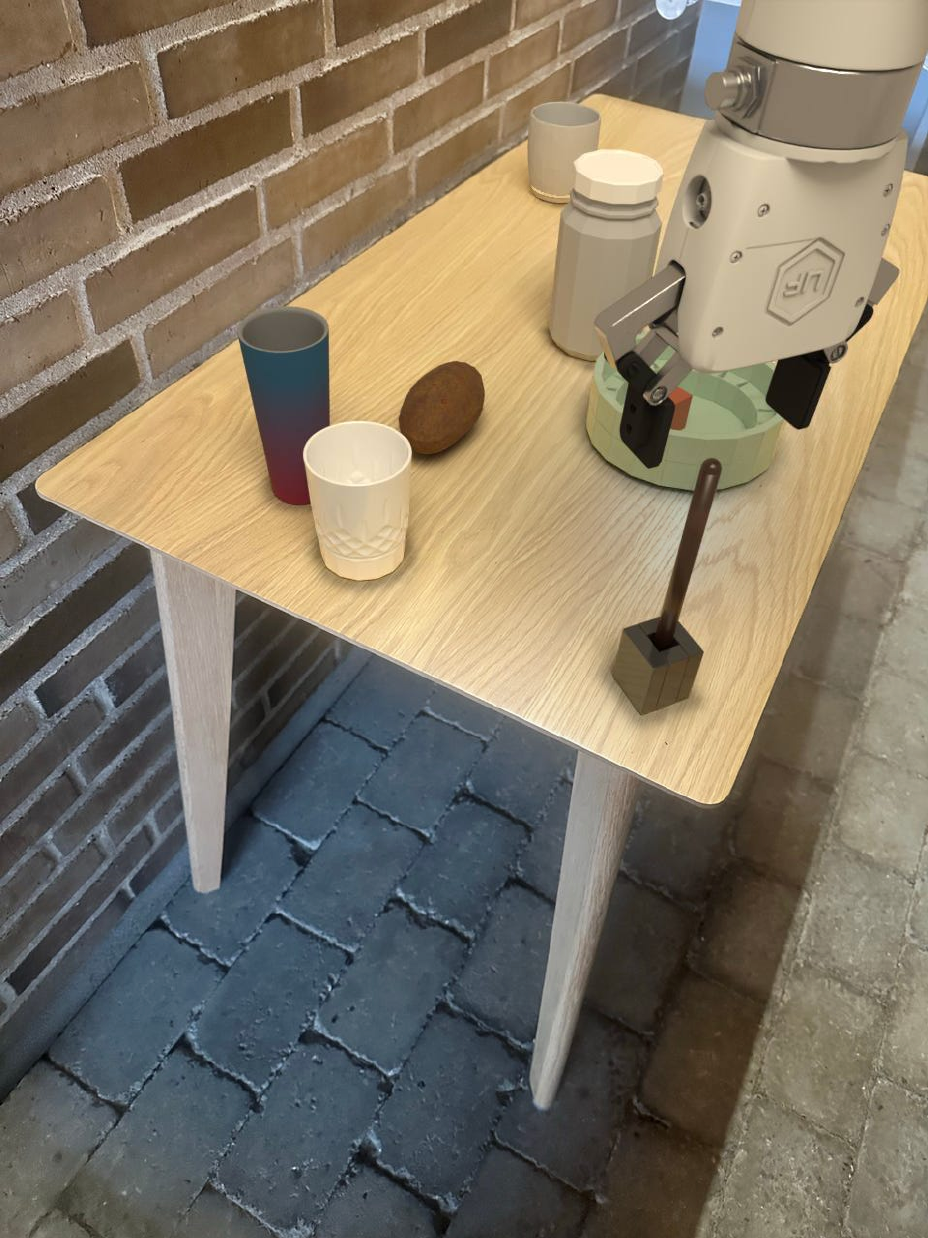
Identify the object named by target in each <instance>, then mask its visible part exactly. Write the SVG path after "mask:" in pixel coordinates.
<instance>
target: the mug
mask: <svg viewBox="0 0 928 1238" xmlns="http://www.w3.org/2000/svg"><path fill="white" fill-rule="evenodd" d="M528 120H529V121H528V129H527V145H526V146H527V148H526V149H527V171H528V173H527V174H528V179H529V184H530V183H531V185H532V186H533V187H534V188H536V189H537V190H540V191H541V192H544V193H548V194H551V195H556V196H566V195H570V191H571V190H572V189H573V188H574V186H573V183H572V172H573V163H574V161H576V160H577V159H578V158H579V157H580V156H581V155H582V154H584V153H588V152H593V151H597V150H599V143H600V142H599V141H600V132H601V124H602V115H601V113H600V112H599V111H598V110H597V109H594V108H593V107H590V106H589V105H585V104H581V103H576V102H572V101H571V102H570V101H551V102H545V103H541V104H539V105H536V106H535V107H534V106H533V108H532V109H531V111H530V112H529V119H528ZM531 191H532V193H533V194H534V196H535V197H536V198H538V199H540V200H542V201H544V202H547V203H553V204H568V203H569V202H570V201H571V197H570V198H554V197H549V196H545V195H542V194H539V193H537V192H536V191H534V190H533V189H532V188H531Z"/></svg>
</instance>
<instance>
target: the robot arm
mask: <svg viewBox="0 0 928 1238" xmlns="http://www.w3.org/2000/svg"><path fill="white" fill-rule="evenodd" d="M927 56H928V0H741V2H740V7H739V11H738V15H737V20H736V23H735V30H734V32H733V37H732V40H731V45H730V50H729V54H728V59H727V62H726V68H724V70H722V71H714V72H712V73H711V74H710V75H709V76H708V77H707V79H706V81H705V85H704V90H703V91H704V94H703V96H704V102H705V104H706V106H707V108H708V109H710V110H711V111H715V116H714V118H712V119H709V120H706V121H705V122H704V124H703V126H702V128H701V130H700V133H699V135H698V138H697V140H696V142H695V144H694V147H693V150H692V153H691V154H690V157H689V160H688V162H687V164H686V168H685V170H684V173H683V176H682V178H681V181H680V185H679V186H678V190H677V193H676V195H675V199H674V201H673V204H672V208H671V211H670V214H669V217H668V221H667V224H666V227H665V232H664V235H663V239H662V243H661V246H660V249H659V254H658V258H657V262H656V266H655V271H654V273H653V275H652V278H650V279H649V280H647V281H646V282H644V283H643V284H641V285H640V286H639V287H637V288H636V289H634V290H633V291H631V292H630V293H628V294H627V295H625V296H624V297H622V298H621V299H620V300H618V301H617V302H615V303H614V304H612V305H611V306H609V307H608V308H606V309H605V310H603V311H602V312H601V313H599V314H598V315H597V317H596V318H595V321H594V327H595V330H596V332H597V335H598V338H599V341H600V343H601V346H602V349H603V350H604V358H605V360H606V361H607V362H608V363H609V364H610V365H611V366H612V367H613V368H614V369H615V370H616V371H617V372H618V373H619V374H620V375H621V376H622V377H623V378H624V379H625V380H626V381H627V382H628V388H627V393H626V398H625V403H624V408H623V413H622V418H621V423H620V429H619V432H620V438H621V440H622V442H623V443H624V444H625V445H626V446H627V447H628V448H629V449H630V450H631V451H632V452H633V454H634V455H635V456H636V457H637V458H638V459H639V460H640V461H641V462H642V463H643V464H644V466H645V467H646V468H648V469H651V468H654V467H658V466H659V465H660V463H661V462H662V459H663V455H664V451H665V447H666V443H667V439H668V435H669V431H670V427H671V423H672V419H673V415H674V411H675V404H674V402H673V401H672V400H671V399H670V398H669V397H668V396H669V395H670V394H671V393H672V392H673V391H674V390H675V389H676V387H677V386H678V385H679V384H680V383H681V382H682V381H683V380H684V378H685V377H686V376H687V375H688V374H689V373H690V372H691V371H692V370H693V369H694V370H696V371H698V372H700V373H705V374H715V373H721V372H727V371H731V370H736V369H741V368H745V367H750V366H754V365H759V364H763V363H767V362H776V361H777V362H776V364H775V365H776V367H775V370H774V373H773V376H772V379H771V382H770V385H769V388H768V392H767V395H766V398H765V401H766V403H767V405H769V406H770V407H771V408H772V409H773V410H774V411H775V412H777V413H778V414H779V415H780V416H781V417H782V418H783V419H785V420H786V421H787V423H788V424H789V425H790V426H791V427H792V428H793V429H796V431H797V430H799V431H800V430H804V429H807V428H809V427H810V425H811V422H812V421H813V418H814V414H815V412H816V409H817V407H818V404H819V401H820V400H821V396H822V393H823V391H824V388H825V386H826V383H827V380H828V379H829V375H830V373H831V370H832V366H830V364H832V365H833V364H837V363H839V362H840V361H842V360H843V358H845V356H846V354H847V353H848V349H849V346H848V342H849V341H850V340H852V338H853V337H855V335H856V334H857V333H858V332H859V331H861V329H863V328H864V327H865V326H866V325H867V324H868V323H869V322H870V321H871V319H872V317H873V316H874V306H875V305H876V306H877V305H878V304H879V303H880V302H881V300H882V299H883V298H884V296H885V295H886V293H887V292H888V291H889V290H890V288H891V287H892V286H893V285H894V283H896V280H897V279H898V278H899V275H900V269H899V267H897V266H896V265H895V264H893V263H891V262H890V261H889V260H887V259H885V258H884V257H883V255H884V251H885V249H886V245H887V242H888V238H889V235H890V231H891V228H892V224H893V221H894V217H895V214H896V209H897V205H898V201H899V197H900V194H901V188H902V183H903V177H904V171H905V166H906V163H907V161H906V160H907V153H908V152H907V151H908V145H909V133H908V132H907V131H906V129H905V128H903V127H902V125H903V123H904V119H905V117H906V115H907V111H908V108H909V105H910V103H911V100H912V98H913V95H914V92H915V89H916V87H917V83H918V81H919V78H920V75H921V72H922V70H923V68H924V64H925V62H926V59H927V58H926V57H927ZM647 326H648V329H649V331H647V332H648V333H647V334H646V336H645V337H644V338H643V339H642V340H641V341H640V343H639V344H638V345H637V346H636V343H635V339H636V336H637V334H638V333H639V331H641V330H642V331H643V329H645V328H646V327H647ZM676 333H678V335H677V334H676ZM668 346H671V347H672V348H673V349H674V350H675V351H676V352H675V353H674V354H673V355H672V357H671V358H670V359H669V360H668V361H667V362H666V363H665V365H664V366H663V367H662V368H661V369H660V370H659V371H658V373H657V374H656V373H655V372H654V371H653V370H652V369H651V368H650V366H651V365H652V364H653V363H654V362H655V361H656V359H657V358H658V357H659V356H660V355H661V354H662V353H663V351H664V350H665V349H666V348H667V347H668Z"/></svg>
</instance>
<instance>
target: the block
mask: <svg viewBox="0 0 928 1238" xmlns="http://www.w3.org/2000/svg"><path fill="white" fill-rule="evenodd" d="M668 397H669V398H670V399H671V400H672V401H673V402H674V404H675V411H674V415H673V419H672V423H671V427H670V429H673V430H679V431H680V430H682V429H684V428H685V426H686V422H687V418H688V414H689V410H690V406H691V402H692V398H693V395H692V394H690V393H688V392H687V391H685V390H683V389H682V388H680V387H678V386H677V387H676V389H675V390H674V391H673V392H672V393H671V394H670V395H669V396H668Z"/></svg>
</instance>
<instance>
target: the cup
mask: <svg viewBox="0 0 928 1238" xmlns="http://www.w3.org/2000/svg"><path fill="white" fill-rule="evenodd" d="M236 335H237V339H238V343H239V348H240V351H241V356H242V361H243V365H244V369H245V374H246V378H247V383H248V387H249V393H250V397H251V401H252V406H253V410H254V414H255V420H256V423H257V427H258V431H259V437H260V441H261V445H262V449H263V454H264V458H265V463H266V468H267V472H268V476H269V481H270V485H271V490H272V493H273V494H274V496H275V497H276V498H277V499H278V500H279V501H281V502H284V503H287V504H291V505H295V506H297V505H299V506H301V505H302V506H303V505H308V504H310V505H311V502H310V495H309V489H308V483H307V477H306V471H305V465H304V459H303V451H304V447H305V445H306V443H307V442H308V440H309V439H310V438H311V437H312V436H313V435H314V434H315V433H317V432H318V431H320V430H322V429H324V428H326V427H328V426H331V407H330V406H331V403H330V401H331V400H330V398H331V397H330V394H331V393H330V390H331V389H330V326H329V322H328V321H327V320H326V318H325V317H324V316H323V315H322V314H320V313H319V312H316V311H314V310H312V309H308V308H305V307H300V306H290V305H289V306H288V305H285V306H271V307H266V308H263V309H259V310H257V311H253V312H252V313H251V314H248V315H247V316H245V317H244V318H243V319H242V320H241V321H240V322H239V324H238V326H237V330H236Z"/></svg>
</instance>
